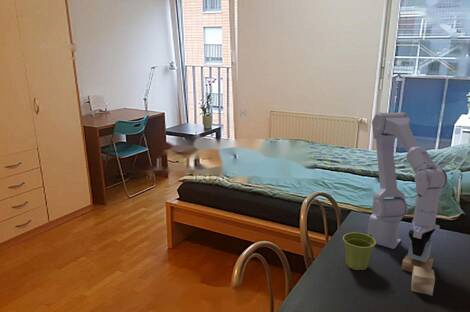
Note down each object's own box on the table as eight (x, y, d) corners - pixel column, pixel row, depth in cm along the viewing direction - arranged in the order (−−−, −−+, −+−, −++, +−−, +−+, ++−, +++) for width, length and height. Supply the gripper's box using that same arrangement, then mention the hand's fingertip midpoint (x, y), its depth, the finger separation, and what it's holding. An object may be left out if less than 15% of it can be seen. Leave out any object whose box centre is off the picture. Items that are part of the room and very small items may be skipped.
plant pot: (334, 265, 114) (337, 239, 112) (349, 254, 121) (351, 229, 118) (364, 278, 108) (367, 250, 106) (377, 265, 115) (381, 239, 112)
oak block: (401, 270, 113) (402, 261, 112) (407, 260, 118) (408, 251, 117) (426, 278, 109) (428, 269, 108) (431, 268, 114) (433, 259, 113)
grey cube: (407, 256, 112) (410, 241, 110) (411, 250, 116) (414, 235, 114) (426, 262, 109) (428, 247, 108) (429, 255, 113) (432, 240, 111)
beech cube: (411, 291, 102) (414, 274, 101) (411, 281, 107) (413, 265, 105) (432, 295, 100) (435, 279, 99) (430, 285, 105) (433, 269, 104)
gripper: (436, 220, 100) (428, 266, 104) (446, 204, 111) (439, 246, 115) (408, 214, 105) (401, 257, 108) (420, 198, 116) (414, 239, 119)
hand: (419, 251), depth 112 cm, fingers closed on grey cube, 5 cm apart
